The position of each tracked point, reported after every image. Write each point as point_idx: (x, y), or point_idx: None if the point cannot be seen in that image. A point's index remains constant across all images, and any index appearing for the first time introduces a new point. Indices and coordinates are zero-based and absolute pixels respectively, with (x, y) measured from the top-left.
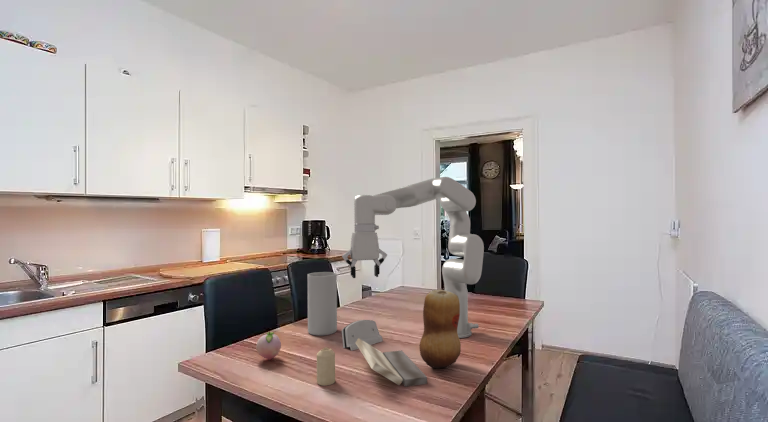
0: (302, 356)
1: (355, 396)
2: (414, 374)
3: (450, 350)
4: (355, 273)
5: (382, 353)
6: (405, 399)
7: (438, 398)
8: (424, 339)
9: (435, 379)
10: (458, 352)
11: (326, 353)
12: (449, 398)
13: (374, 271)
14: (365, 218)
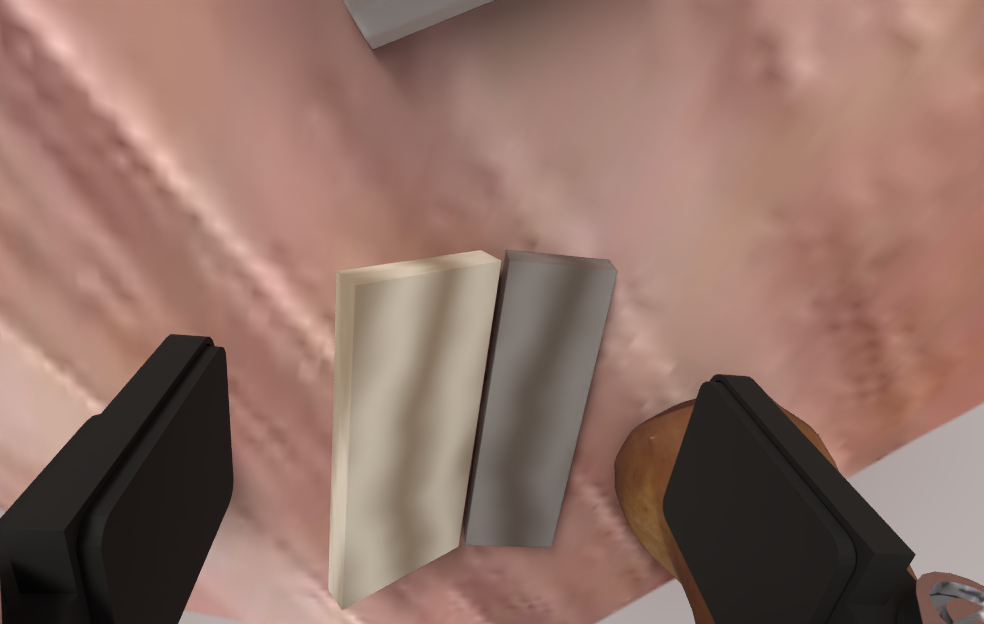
0: (14, 13)
1: (273, 537)
2: (520, 519)
3: None
4: (198, 567)
5: (495, 286)
6: (426, 589)
7: (523, 606)
8: (652, 529)
9: (593, 510)
10: None
11: None
12: (552, 613)
13: (746, 442)
14: None
